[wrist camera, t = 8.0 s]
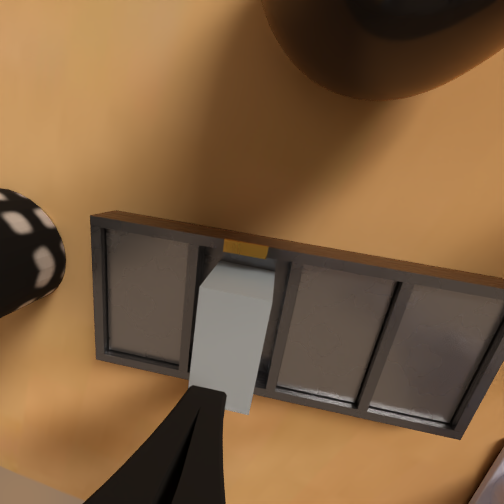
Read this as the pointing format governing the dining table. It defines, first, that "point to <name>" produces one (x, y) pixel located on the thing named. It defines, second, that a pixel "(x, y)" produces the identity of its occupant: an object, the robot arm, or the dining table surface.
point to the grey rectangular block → (231, 331)
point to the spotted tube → (27, 253)
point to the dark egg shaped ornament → (386, 42)
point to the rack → (307, 320)
